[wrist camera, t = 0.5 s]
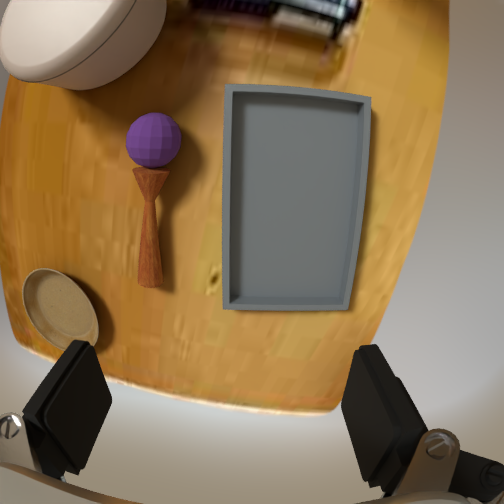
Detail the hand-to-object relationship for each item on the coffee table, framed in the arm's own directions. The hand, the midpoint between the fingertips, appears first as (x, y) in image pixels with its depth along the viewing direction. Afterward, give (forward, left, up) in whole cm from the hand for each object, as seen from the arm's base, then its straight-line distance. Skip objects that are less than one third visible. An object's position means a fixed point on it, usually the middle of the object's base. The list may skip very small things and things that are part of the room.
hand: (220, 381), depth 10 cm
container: (-24, -18, -27) cm, 40 cm away
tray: (-1, +6, -27) cm, 27 cm away
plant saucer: (+15, -27, -27) cm, 41 cm away
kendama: (-1, -10, -27) cm, 29 cm away
